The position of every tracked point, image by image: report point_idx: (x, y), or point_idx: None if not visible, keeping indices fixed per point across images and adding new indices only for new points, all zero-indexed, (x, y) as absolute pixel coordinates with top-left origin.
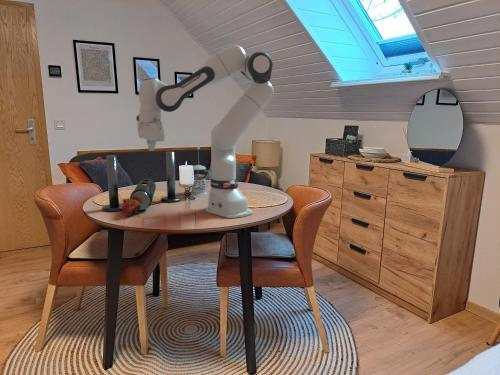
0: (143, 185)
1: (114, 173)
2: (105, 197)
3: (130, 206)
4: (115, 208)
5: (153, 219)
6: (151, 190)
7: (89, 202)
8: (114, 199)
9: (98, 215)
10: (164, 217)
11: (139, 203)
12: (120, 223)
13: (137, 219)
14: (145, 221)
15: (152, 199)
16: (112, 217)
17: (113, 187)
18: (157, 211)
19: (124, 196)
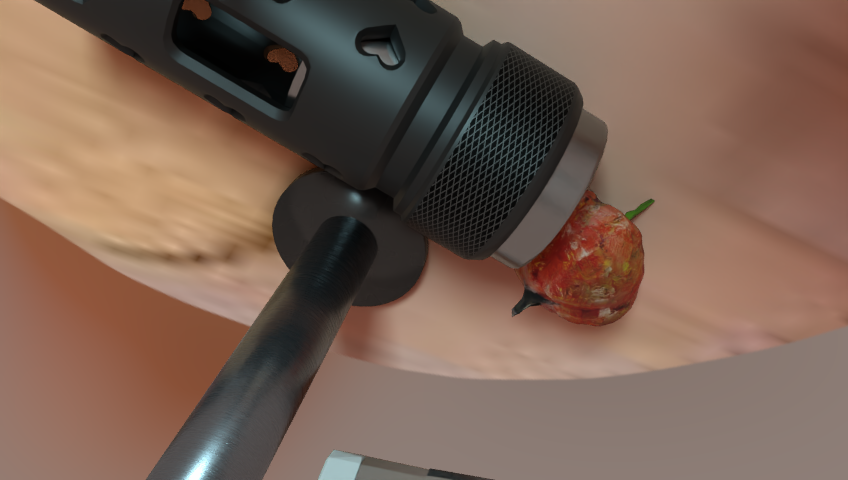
0: (327, 105)
1: (273, 439)
2: (25, 155)
3: (632, 302)
4: (396, 257)
5: (804, 161)
6: (397, 23)
7: (132, 274)
8: (358, 288)
9: (445, 350)
10: (839, 65)
11: (626, 235)
12: (695, 343)
13: (702, 240)
14: (795, 225)
15: (533, 58)
16: (538, 320)
17: (325, 353)
18: (623, 23)
19: (22, 31)
